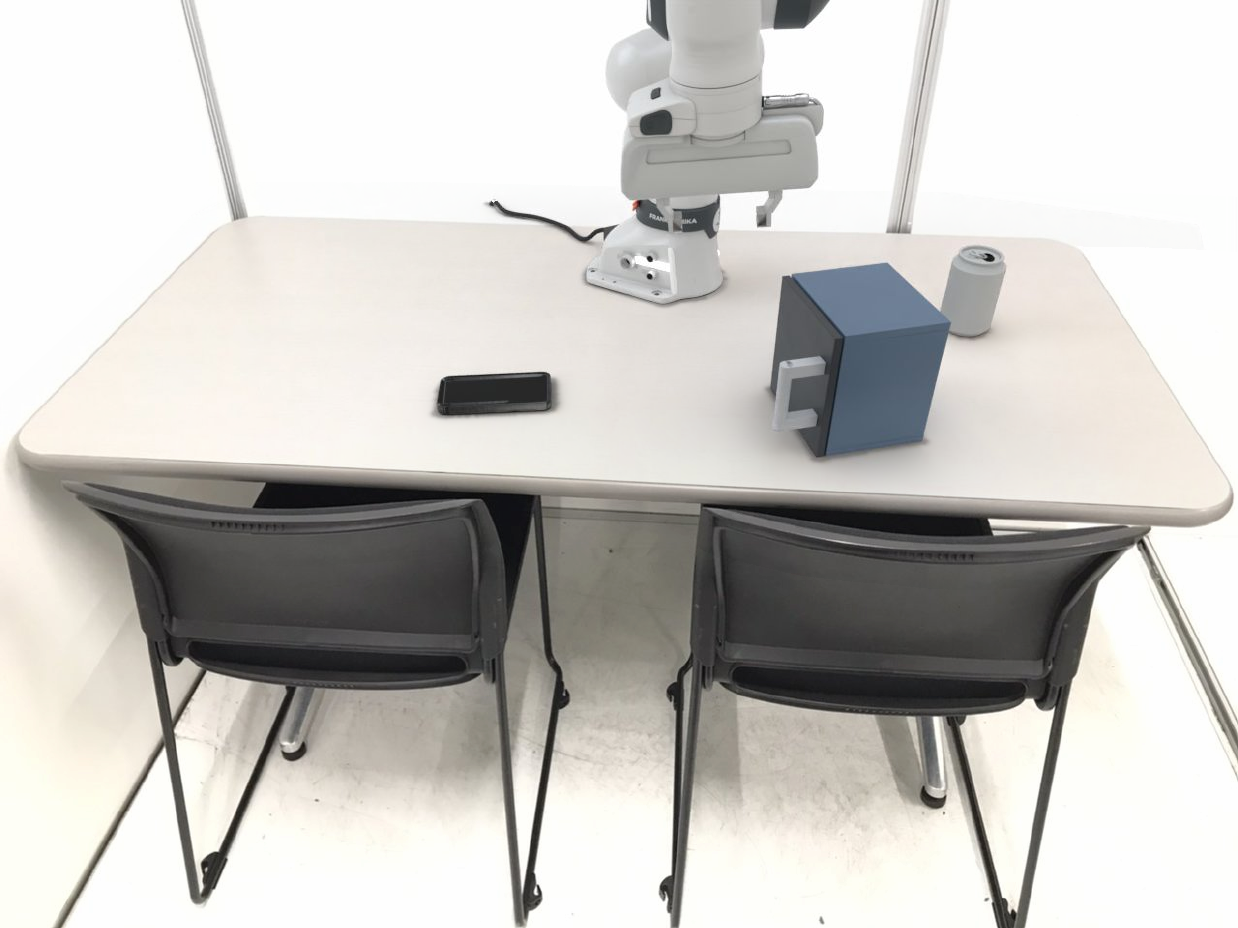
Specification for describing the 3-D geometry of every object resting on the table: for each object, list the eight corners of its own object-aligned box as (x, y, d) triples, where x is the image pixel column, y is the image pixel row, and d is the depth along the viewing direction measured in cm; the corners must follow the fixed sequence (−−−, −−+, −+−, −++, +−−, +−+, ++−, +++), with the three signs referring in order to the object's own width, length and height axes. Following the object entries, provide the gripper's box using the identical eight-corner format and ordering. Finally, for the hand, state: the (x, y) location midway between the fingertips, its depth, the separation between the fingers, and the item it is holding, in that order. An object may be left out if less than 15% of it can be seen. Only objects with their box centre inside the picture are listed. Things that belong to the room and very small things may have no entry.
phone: (441, 376, 125) (550, 371, 126) (442, 383, 126) (551, 378, 126) (436, 408, 119) (550, 402, 119) (437, 415, 119) (551, 410, 120)
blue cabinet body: (825, 456, 112) (845, 336, 101) (778, 387, 124) (791, 273, 114) (922, 441, 114) (951, 322, 104) (866, 375, 126) (887, 262, 116)
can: (992, 341, 133) (1013, 266, 126) (939, 337, 134) (956, 262, 127) (986, 317, 139) (1006, 243, 132) (935, 312, 140) (952, 239, 133)
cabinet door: (775, 463, 111) (790, 344, 100) (732, 393, 123) (741, 280, 113) (824, 456, 112) (843, 337, 101) (776, 387, 124) (789, 275, 114)
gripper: (821, 79, 90) (814, 206, 99) (615, 95, 92) (627, 219, 101) (829, 105, 85) (820, 236, 95) (612, 122, 87) (625, 249, 97)
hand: (719, 227), depth 98 cm, fingers open, 8 cm apart
